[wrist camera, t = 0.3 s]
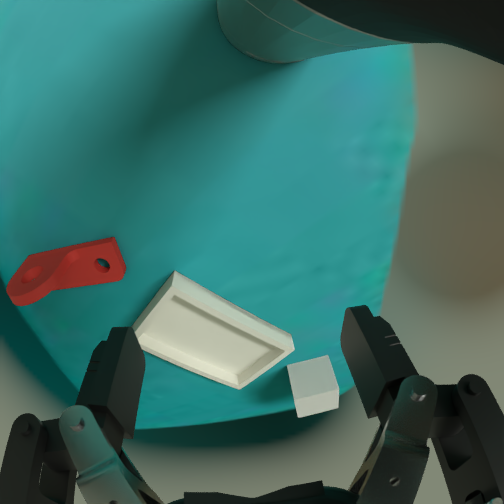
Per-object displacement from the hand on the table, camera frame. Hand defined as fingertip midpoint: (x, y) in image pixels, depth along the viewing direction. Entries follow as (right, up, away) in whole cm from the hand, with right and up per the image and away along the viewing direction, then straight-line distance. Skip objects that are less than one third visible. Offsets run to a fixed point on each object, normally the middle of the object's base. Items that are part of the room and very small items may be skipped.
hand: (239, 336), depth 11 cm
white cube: (+9, -14, +31) cm, 35 cm away
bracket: (-19, +2, +18) cm, 26 cm away
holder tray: (-4, -7, +24) cm, 26 cm away
